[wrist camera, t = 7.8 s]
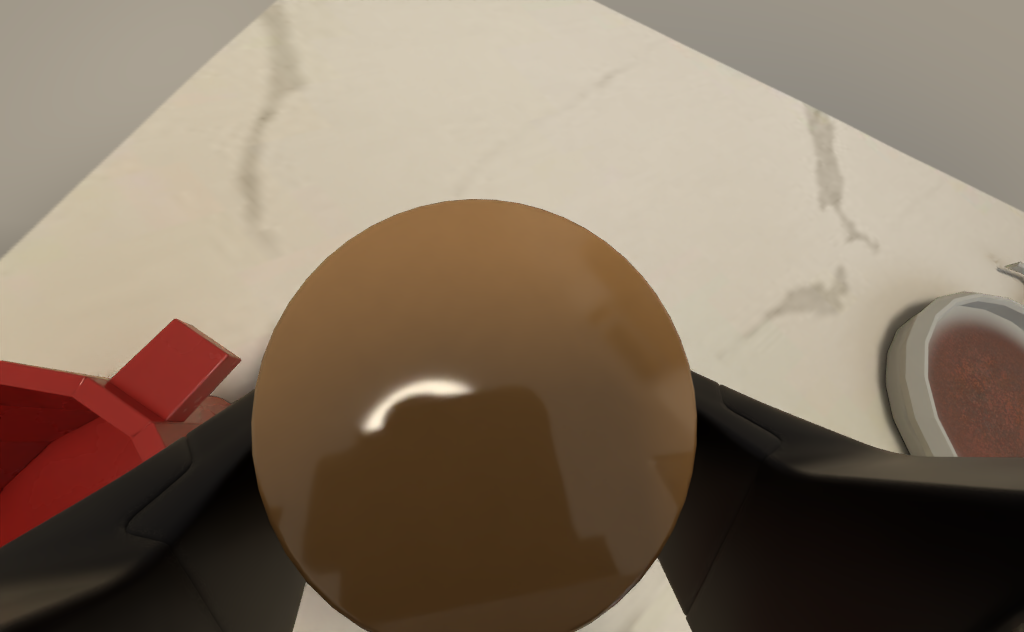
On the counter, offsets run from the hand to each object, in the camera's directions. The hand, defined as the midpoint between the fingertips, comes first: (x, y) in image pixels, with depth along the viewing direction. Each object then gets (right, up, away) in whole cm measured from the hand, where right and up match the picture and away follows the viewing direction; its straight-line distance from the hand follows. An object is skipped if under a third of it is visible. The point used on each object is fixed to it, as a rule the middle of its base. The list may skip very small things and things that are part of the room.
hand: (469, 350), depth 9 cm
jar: (0, -2, +2) cm, 3 cm away
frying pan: (+39, -3, +20) cm, 44 cm away
